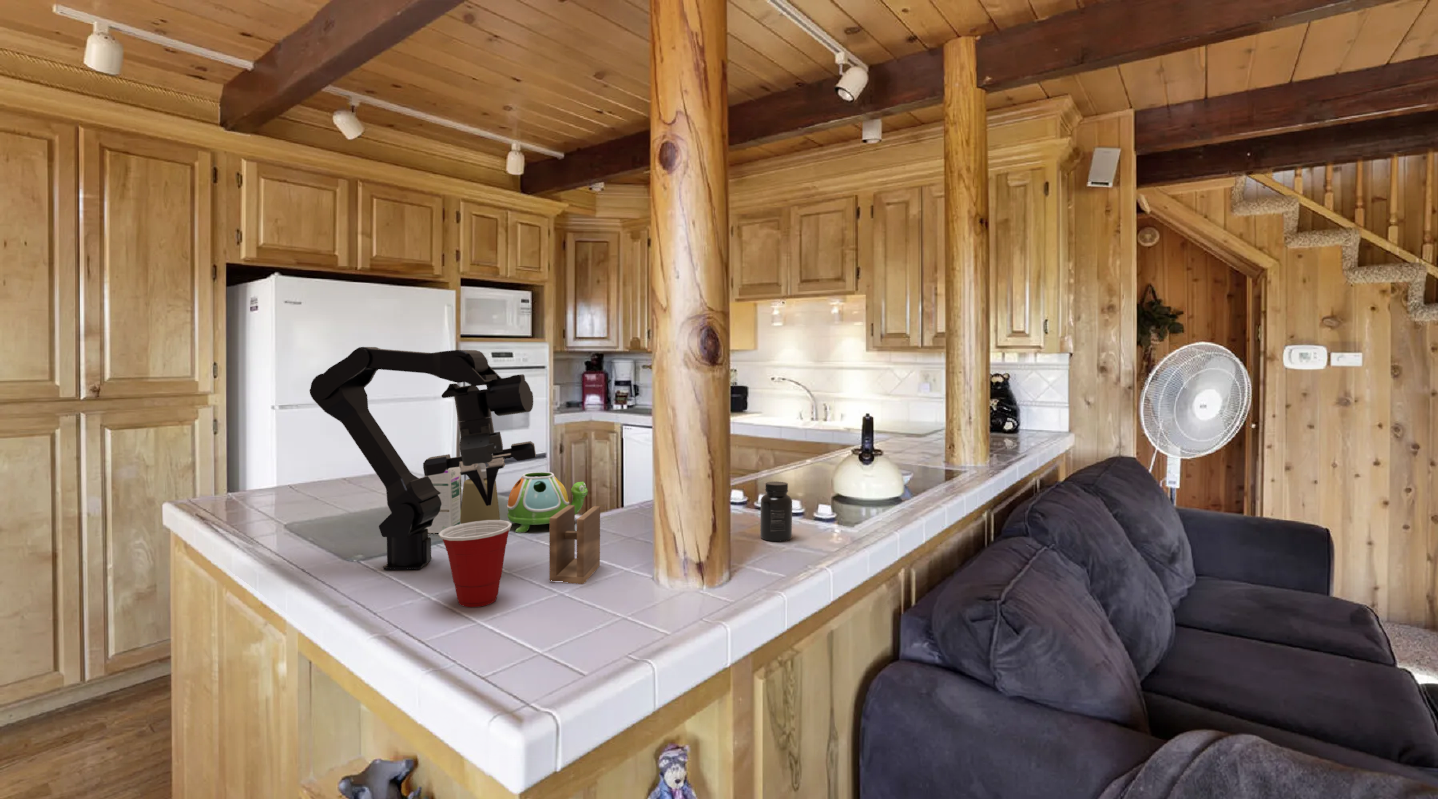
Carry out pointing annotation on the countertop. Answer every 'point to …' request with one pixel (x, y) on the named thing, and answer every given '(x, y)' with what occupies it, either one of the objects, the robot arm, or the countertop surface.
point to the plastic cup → (476, 559)
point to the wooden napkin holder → (563, 545)
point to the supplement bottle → (776, 513)
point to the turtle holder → (541, 499)
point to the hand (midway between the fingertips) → (489, 505)
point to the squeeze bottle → (478, 502)
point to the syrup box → (447, 499)
